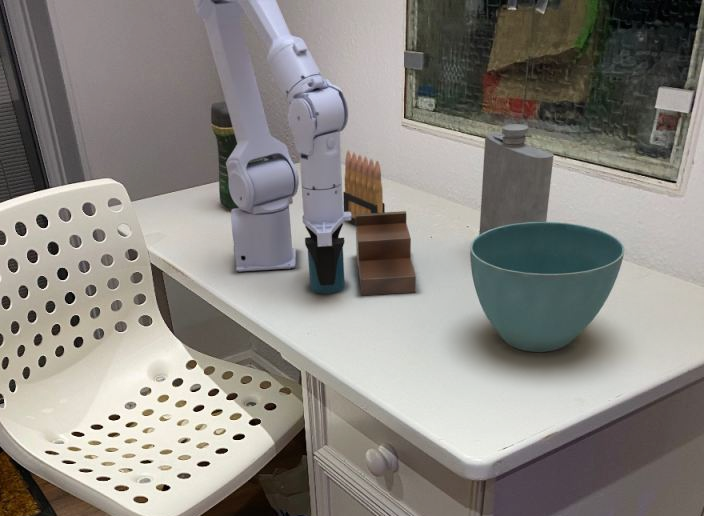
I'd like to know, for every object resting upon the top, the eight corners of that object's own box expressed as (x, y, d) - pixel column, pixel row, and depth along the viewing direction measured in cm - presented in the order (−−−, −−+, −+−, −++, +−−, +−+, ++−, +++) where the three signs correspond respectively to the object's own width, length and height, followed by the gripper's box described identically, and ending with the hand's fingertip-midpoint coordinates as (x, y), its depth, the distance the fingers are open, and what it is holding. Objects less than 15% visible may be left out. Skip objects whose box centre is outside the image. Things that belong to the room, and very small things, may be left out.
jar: (310, 294, 122) (307, 255, 119) (310, 281, 126) (307, 243, 123) (345, 292, 122) (343, 253, 118) (343, 279, 126) (342, 241, 123)
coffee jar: (231, 214, 154) (217, 107, 143) (216, 204, 160) (202, 100, 148) (277, 204, 157) (268, 99, 146) (261, 194, 163) (251, 92, 152)
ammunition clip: (385, 233, 141) (385, 160, 134) (376, 236, 140) (375, 162, 133) (352, 218, 149) (349, 148, 141) (343, 220, 148) (340, 150, 141)
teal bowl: (439, 327, 111) (442, 238, 103) (550, 298, 116) (561, 211, 109) (517, 384, 98) (527, 286, 90) (639, 349, 103) (658, 253, 95)
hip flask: (544, 278, 122) (560, 135, 110) (520, 283, 121) (533, 140, 109) (492, 245, 134) (501, 112, 122) (470, 249, 133) (477, 116, 121)
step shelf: (361, 295, 121) (360, 249, 117) (356, 257, 133) (355, 214, 129) (415, 292, 121) (416, 245, 116) (405, 254, 133) (405, 211, 129)
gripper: (352, 198, 109) (355, 294, 117) (348, 167, 120) (351, 257, 129) (299, 201, 109) (306, 297, 118) (300, 170, 121) (306, 260, 129)
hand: (326, 277), depth 123 cm, fingers closed on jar, 5 cm apart
